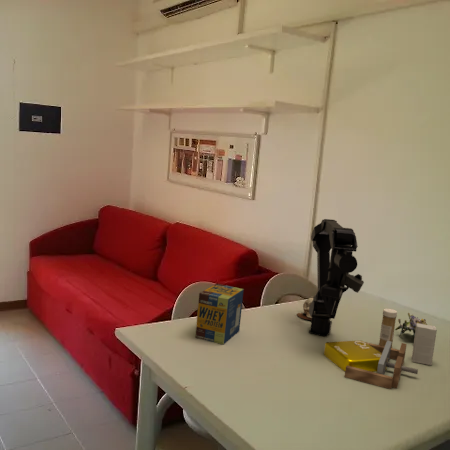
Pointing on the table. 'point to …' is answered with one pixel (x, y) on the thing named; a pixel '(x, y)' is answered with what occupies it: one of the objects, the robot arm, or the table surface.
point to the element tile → (353, 355)
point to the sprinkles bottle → (387, 326)
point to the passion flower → (410, 324)
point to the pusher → (384, 363)
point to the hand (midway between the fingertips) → (332, 311)
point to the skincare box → (424, 344)
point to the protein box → (219, 313)
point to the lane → (376, 377)
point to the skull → (306, 309)
